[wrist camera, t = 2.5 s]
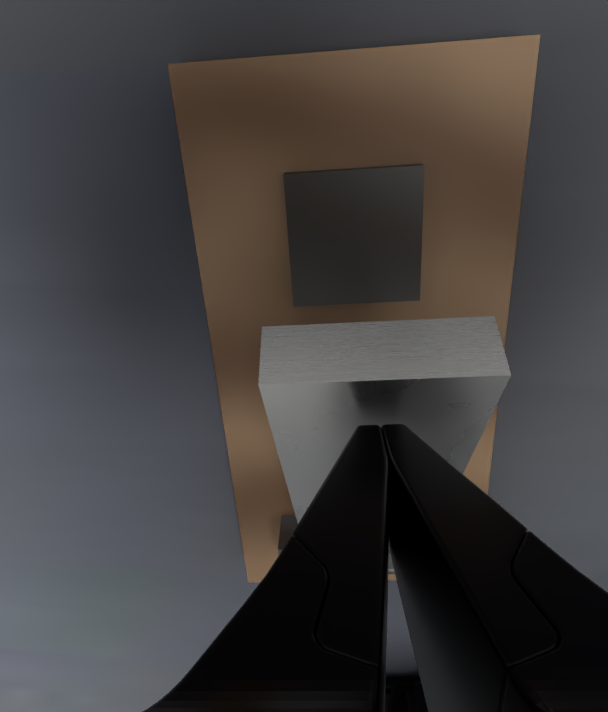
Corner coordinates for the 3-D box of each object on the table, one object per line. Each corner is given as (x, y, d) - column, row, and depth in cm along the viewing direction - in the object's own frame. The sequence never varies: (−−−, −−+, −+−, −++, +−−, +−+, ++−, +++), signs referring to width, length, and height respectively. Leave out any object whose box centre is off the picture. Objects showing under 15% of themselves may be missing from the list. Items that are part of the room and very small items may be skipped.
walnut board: (468, 551, 23) (490, 616, 20) (252, 555, 24) (242, 618, 21) (520, 42, 15) (571, 22, 12) (181, 69, 15) (146, 56, 12)
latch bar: (414, 540, 21) (418, 577, 20) (307, 542, 21) (307, 579, 20) (505, 311, 9) (525, 379, 8) (250, 323, 9) (245, 390, 8)
